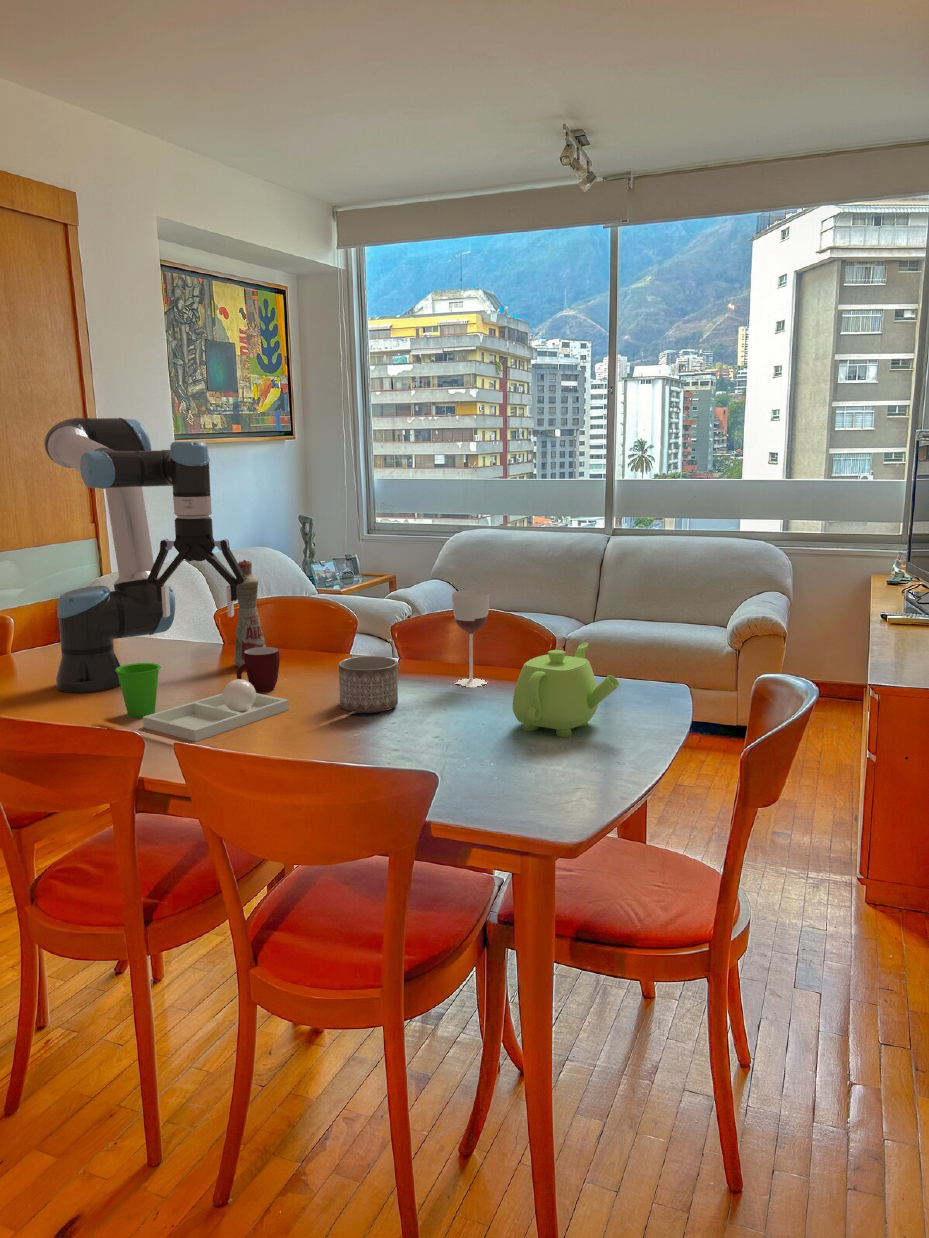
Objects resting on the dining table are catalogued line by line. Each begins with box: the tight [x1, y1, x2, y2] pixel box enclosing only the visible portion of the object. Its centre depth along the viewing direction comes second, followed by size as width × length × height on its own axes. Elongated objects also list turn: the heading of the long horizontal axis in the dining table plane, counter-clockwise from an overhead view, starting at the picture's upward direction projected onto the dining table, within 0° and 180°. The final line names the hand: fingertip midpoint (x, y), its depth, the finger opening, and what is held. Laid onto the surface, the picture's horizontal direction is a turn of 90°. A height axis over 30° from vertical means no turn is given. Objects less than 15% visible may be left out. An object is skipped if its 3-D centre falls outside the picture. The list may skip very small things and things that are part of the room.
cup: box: [115, 662, 161, 719], centre depth 190 cm, size 9×9×11 cm
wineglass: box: [451, 589, 490, 688], centre depth 216 cm, size 9×10×22 cm
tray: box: [142, 692, 290, 743], centre depth 188 cm, size 16×25×3 cm, turn 146°
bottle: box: [233, 559, 267, 669], centre depth 233 cm, size 9×9×28 cm
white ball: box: [221, 678, 257, 712], centre depth 192 cm, size 7×7×7 cm
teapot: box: [512, 642, 620, 738], centre depth 183 cm, size 25×22×16 cm
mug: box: [236, 646, 281, 693], centre depth 208 cm, size 10×8×10 cm
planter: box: [338, 655, 399, 714], centre depth 197 cm, size 13×13×10 cm
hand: (198, 616), depth 192 cm, fingers open, 13 cm apart
